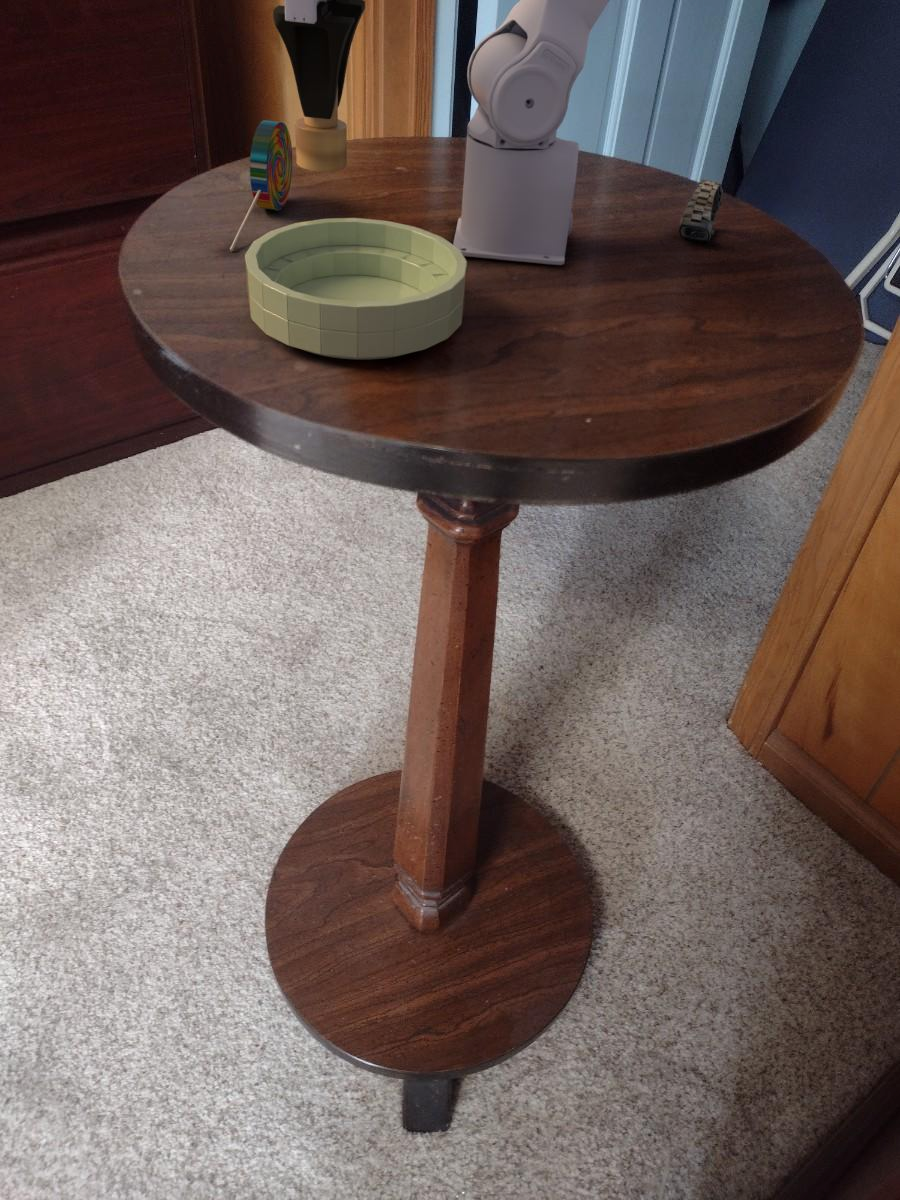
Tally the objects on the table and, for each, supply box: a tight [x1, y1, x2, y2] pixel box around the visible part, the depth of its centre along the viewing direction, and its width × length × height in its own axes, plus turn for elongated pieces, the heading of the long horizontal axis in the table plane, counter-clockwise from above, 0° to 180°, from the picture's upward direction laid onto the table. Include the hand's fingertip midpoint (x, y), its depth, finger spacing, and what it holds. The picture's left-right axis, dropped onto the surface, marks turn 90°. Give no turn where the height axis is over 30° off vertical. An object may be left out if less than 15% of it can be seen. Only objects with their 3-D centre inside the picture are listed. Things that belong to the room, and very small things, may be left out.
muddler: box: [294, 85, 348, 173], centre depth 75 cm, size 4×4×8 cm
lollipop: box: [229, 119, 294, 252], centre depth 83 cm, size 7×1×15 cm
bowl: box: [244, 217, 468, 361], centre depth 70 cm, size 16×16×4 cm
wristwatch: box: [678, 178, 724, 243], centre depth 87 cm, size 3×5×5 cm
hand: (321, 111), depth 75 cm, fingers closed on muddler, 2 cm apart
